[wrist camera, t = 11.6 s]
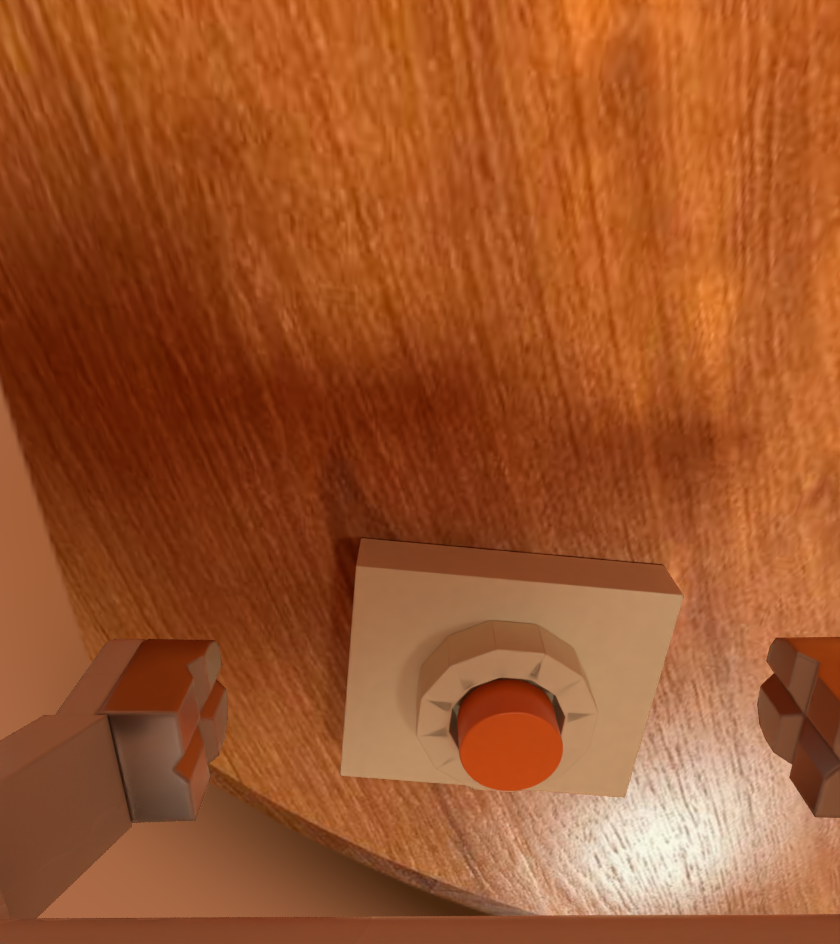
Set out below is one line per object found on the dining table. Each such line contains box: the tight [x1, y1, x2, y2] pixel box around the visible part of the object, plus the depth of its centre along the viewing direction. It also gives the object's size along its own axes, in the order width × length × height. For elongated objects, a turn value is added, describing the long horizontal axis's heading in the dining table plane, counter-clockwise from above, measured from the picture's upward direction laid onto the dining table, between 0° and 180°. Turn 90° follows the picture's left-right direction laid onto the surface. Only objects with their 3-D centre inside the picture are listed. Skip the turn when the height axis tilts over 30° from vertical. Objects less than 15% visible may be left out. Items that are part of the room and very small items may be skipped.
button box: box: [340, 538, 683, 797], centre depth 27 cm, size 12×10×4 cm
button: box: [457, 679, 563, 791], centre depth 24 cm, size 4×4×2 cm
